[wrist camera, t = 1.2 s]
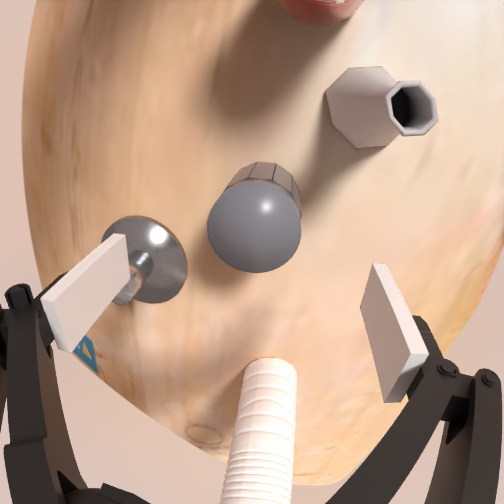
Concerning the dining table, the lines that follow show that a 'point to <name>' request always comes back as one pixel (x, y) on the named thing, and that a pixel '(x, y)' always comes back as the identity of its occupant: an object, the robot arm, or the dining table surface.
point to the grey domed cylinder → (257, 219)
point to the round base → (150, 260)
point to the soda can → (320, 10)
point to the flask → (379, 107)
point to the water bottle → (263, 436)
